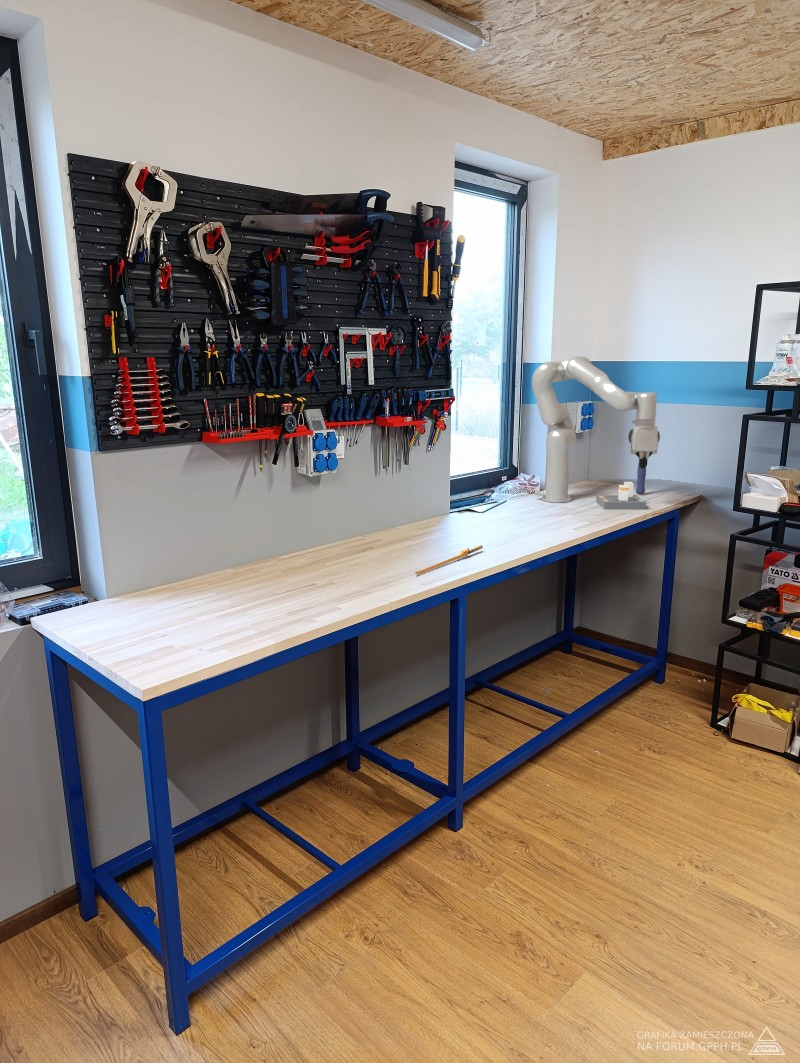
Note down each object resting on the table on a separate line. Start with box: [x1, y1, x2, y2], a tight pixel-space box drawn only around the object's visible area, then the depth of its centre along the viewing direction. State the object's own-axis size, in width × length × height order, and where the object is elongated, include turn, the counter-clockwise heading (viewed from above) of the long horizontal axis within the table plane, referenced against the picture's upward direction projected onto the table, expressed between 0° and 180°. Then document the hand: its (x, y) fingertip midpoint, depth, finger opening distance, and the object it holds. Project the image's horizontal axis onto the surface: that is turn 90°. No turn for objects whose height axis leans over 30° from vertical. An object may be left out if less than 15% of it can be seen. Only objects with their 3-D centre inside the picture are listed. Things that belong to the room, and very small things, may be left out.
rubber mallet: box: [627, 428, 661, 496], centre depth 326 cm, size 12×8×30 cm, turn 46°
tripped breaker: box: [618, 484, 629, 501], centre depth 300 cm, size 3×4×6 cm
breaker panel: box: [595, 481, 647, 510], centre depth 304 cm, size 17×16×9 cm
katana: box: [414, 545, 484, 576], centre depth 221 cm, size 1×35×3 cm, turn 141°
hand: (642, 467), depth 297 cm, fingers closed
